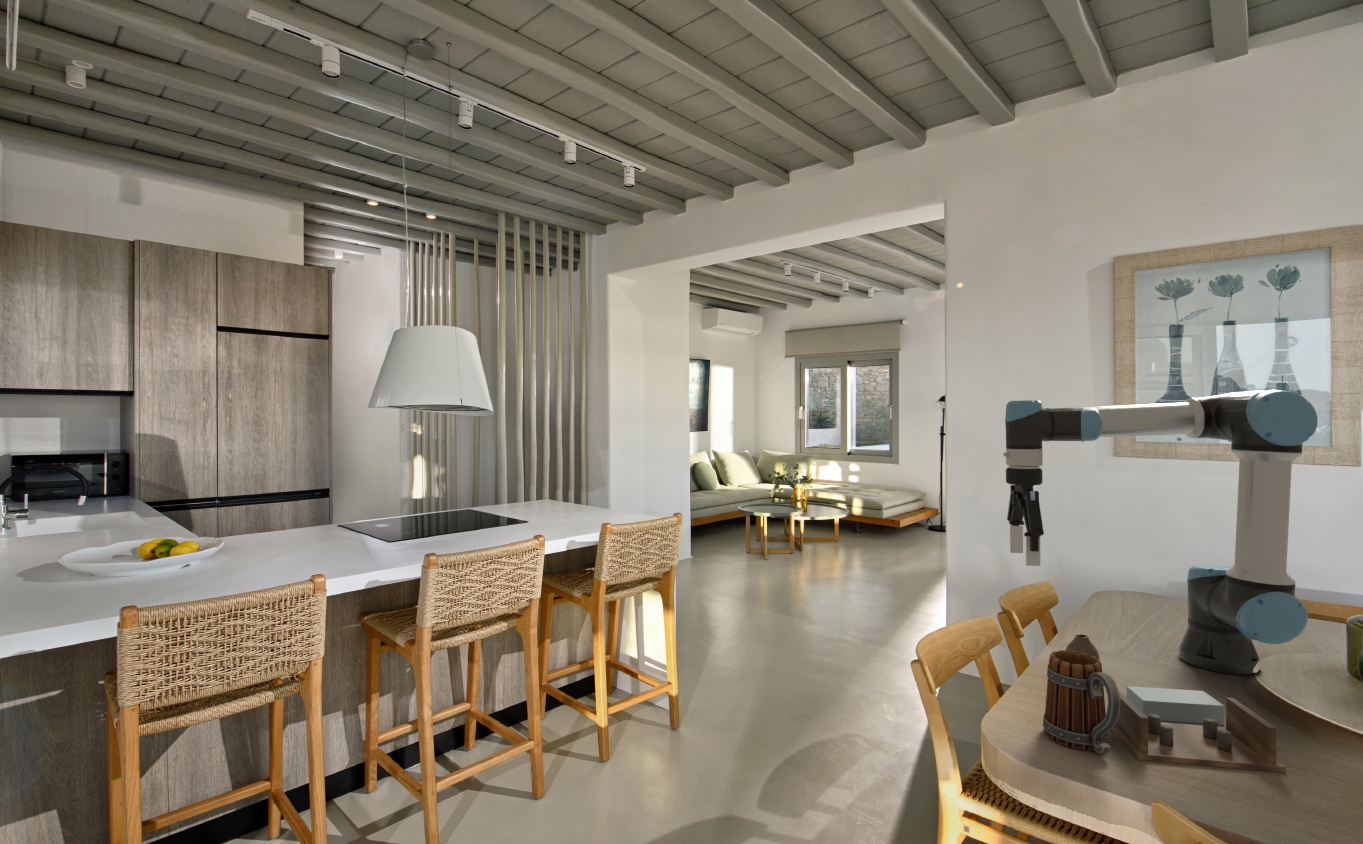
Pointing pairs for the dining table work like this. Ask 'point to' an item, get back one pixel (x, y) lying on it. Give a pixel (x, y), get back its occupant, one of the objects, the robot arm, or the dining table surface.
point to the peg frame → (1201, 739)
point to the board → (1176, 704)
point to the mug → (1079, 702)
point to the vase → (1083, 646)
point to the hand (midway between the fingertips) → (1024, 558)
